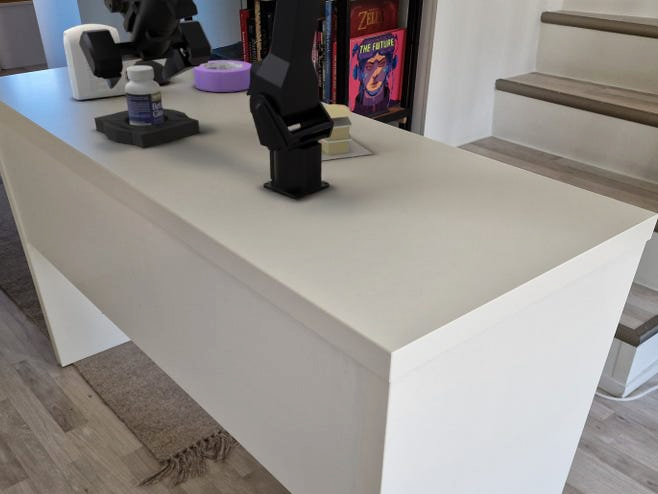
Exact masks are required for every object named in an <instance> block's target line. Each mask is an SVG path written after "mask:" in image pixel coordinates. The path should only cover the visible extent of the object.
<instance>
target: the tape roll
mask: <svg viewBox="0 0 658 494" xmlns="http://www.w3.org/2000/svg"><path fill="white" fill-rule="evenodd" d="M251 64H252V63H249V62H246V61H241V60H233V59H230V60H229V59H228V60H227V59H220V60H219V59H217V60H216V59H215V60H209V61H208V63H205V64H201V65H200V66H198V67H194V68H192V70H193V79H194V80H193V81H194V87H195V88H196V89H197V90H201V91H205V92H213V93H230V92H231V93H233V92H240V91H245V90H246V91H247V90H248V89H249V84H250V68H251Z"/></svg>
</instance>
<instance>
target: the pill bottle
mask: <svg viewBox="0 0 658 494" xmlns="http://www.w3.org/2000/svg"><path fill="white" fill-rule="evenodd" d="M126 71H127V74H126V76H127V75H128V78H127V79H128V80H129V81H128V82H126V86H125V92H126V95H125V98H126V104H127V110H128V112H129V120H130V125H137V126H147V125H156V124H160V123H164V117H163V109H162V108H163V102H162V93H161V86H160V84H158V83H157V82H155V81H153V78H154V71H153V67H151V66H133V65H132V66H131V65H130V66H128V67H127V68H126Z"/></svg>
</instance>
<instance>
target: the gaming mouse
mask: <svg viewBox="0 0 658 494" xmlns="http://www.w3.org/2000/svg"><path fill="white" fill-rule="evenodd" d="M132 66H151V67H153V71H154V78H153V81H155V82H157V83H158V84H159V85H163V84H165V83H167V82H170V81H171V80H172V78H171V79H169V80H167V81H164V79H163V77H162V72H163V67H164V65H163V64H162V63H160V62H158V61H156V60H152V61H144V62H143V61H142V59H138V60H135V62H134V64H132ZM125 75H126V78H127V79H129V78H128V75H127V70H126V71H125Z"/></svg>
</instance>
